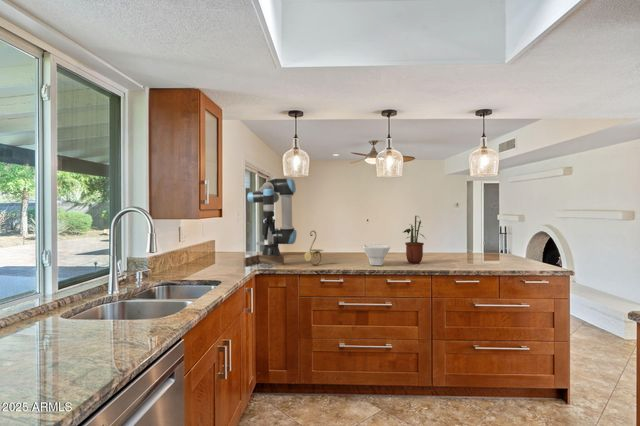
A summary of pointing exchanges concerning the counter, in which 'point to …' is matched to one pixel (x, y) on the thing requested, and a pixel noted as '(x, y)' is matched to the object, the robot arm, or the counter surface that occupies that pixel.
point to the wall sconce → (307, 254)
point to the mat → (266, 266)
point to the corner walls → (264, 260)
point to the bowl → (376, 253)
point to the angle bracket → (268, 239)
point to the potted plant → (414, 246)
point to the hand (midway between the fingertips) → (269, 244)
